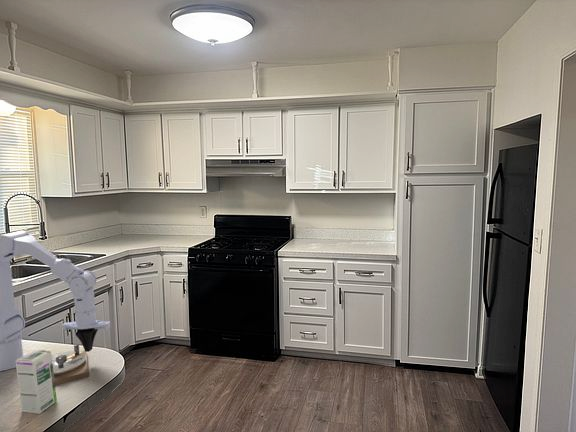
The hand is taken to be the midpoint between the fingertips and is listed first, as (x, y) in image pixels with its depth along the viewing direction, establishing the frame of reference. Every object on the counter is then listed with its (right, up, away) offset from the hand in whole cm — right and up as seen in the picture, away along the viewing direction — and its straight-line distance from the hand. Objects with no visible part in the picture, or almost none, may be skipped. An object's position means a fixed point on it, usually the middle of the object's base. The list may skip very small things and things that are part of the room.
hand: (88, 350), depth 125 cm
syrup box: (-1, -7, -23) cm, 24 cm away
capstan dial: (-6, -3, -4) cm, 8 cm away
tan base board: (-6, -5, -4) cm, 9 cm away
